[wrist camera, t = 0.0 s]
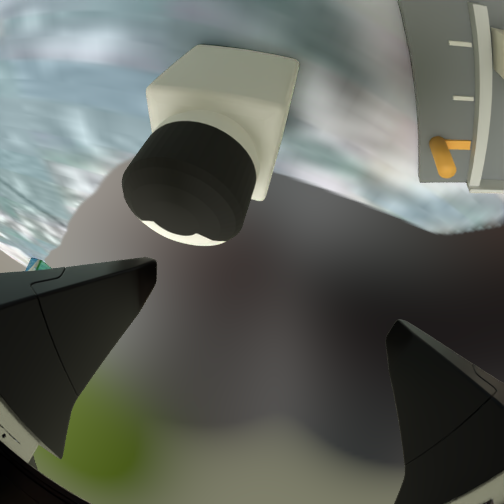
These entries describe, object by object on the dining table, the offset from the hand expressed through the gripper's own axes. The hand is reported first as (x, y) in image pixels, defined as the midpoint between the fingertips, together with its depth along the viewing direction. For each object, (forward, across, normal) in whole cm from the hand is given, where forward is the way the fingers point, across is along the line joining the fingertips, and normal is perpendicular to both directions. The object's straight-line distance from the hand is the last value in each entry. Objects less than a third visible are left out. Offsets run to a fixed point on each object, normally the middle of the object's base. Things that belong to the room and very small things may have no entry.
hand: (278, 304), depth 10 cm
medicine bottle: (+13, -5, +7) cm, 16 cm away
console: (+8, +10, +16) cm, 20 cm away
